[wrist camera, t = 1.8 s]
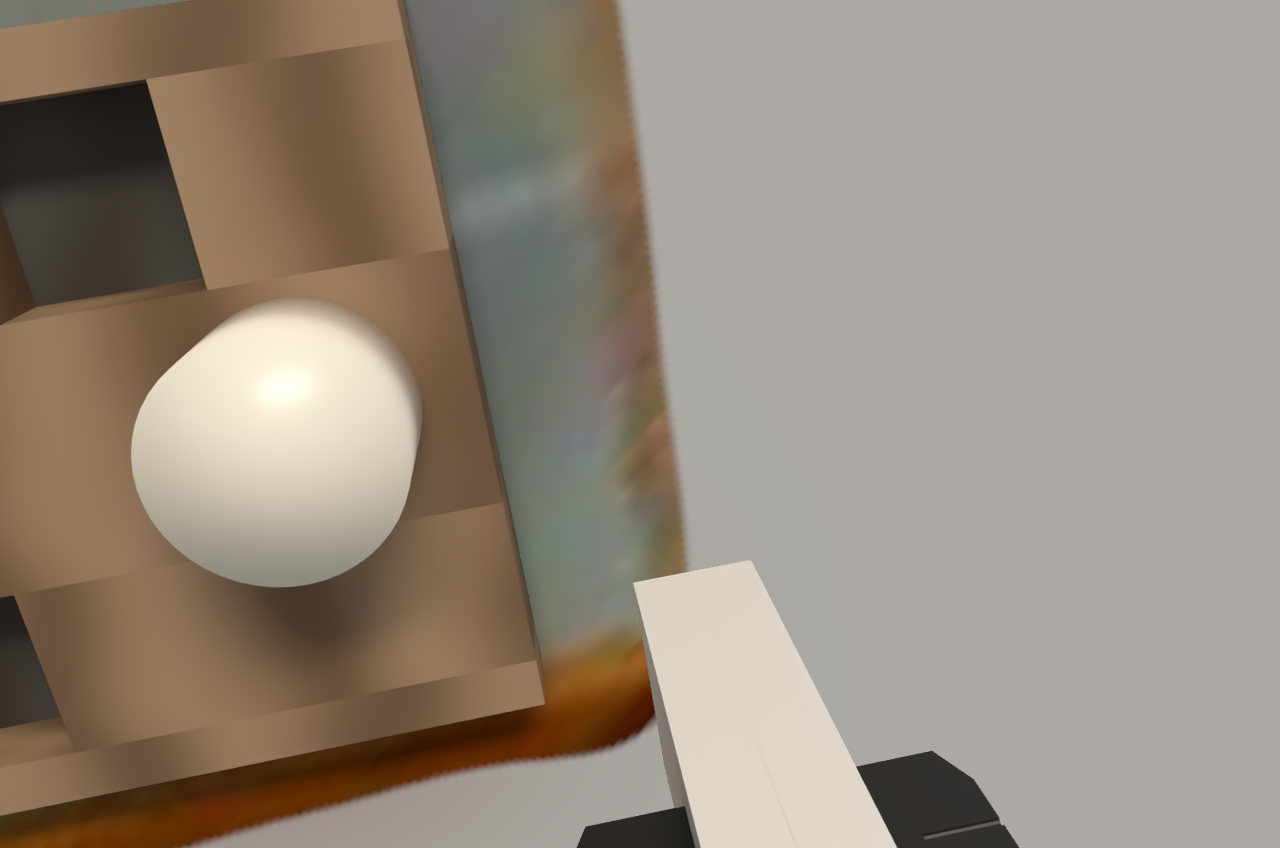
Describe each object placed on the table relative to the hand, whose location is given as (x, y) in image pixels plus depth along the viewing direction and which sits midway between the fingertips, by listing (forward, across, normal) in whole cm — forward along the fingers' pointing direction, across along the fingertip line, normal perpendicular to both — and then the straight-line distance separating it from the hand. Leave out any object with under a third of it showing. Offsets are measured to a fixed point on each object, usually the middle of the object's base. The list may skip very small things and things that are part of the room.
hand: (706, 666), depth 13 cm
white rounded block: (+15, -8, 0) cm, 17 cm away
